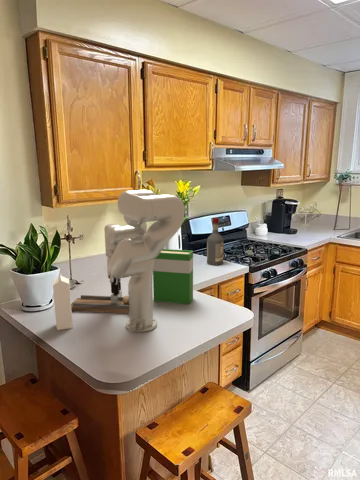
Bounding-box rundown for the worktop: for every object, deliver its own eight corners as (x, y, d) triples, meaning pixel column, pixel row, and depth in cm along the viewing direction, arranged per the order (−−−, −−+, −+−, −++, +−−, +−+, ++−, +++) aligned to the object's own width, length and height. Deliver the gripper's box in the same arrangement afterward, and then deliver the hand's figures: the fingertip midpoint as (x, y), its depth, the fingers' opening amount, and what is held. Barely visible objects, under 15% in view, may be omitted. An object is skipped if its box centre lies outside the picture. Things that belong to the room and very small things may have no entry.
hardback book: (153, 300, 171) (152, 252, 166) (158, 295, 178) (157, 248, 173) (189, 304, 167) (189, 254, 161) (193, 298, 174) (193, 250, 168)
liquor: (205, 264, 231) (205, 218, 224) (212, 260, 238) (212, 216, 232) (217, 266, 226) (218, 219, 219) (224, 262, 233) (225, 217, 227)
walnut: (130, 306, 160) (129, 297, 159) (121, 305, 160) (121, 297, 159) (132, 302, 163) (132, 294, 163) (124, 302, 164) (123, 294, 163)
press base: (138, 313, 156) (137, 296, 155) (68, 310, 160) (67, 293, 159) (143, 304, 166) (143, 288, 165) (77, 301, 170) (76, 285, 169)
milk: (56, 330, 142) (51, 277, 137) (57, 323, 147) (52, 272, 142) (72, 328, 143) (68, 276, 138) (72, 321, 149) (68, 271, 144)
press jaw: (117, 306, 159) (116, 280, 156) (111, 306, 159) (109, 280, 156) (122, 300, 166) (121, 275, 163) (115, 300, 166) (114, 275, 163)
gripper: (117, 257, 149) (119, 298, 153) (127, 247, 164) (129, 285, 168) (99, 256, 150) (102, 297, 154) (111, 247, 165) (113, 285, 169)
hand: (116, 291), depth 161 cm, fingers closed on press jaw, 2 cm apart
